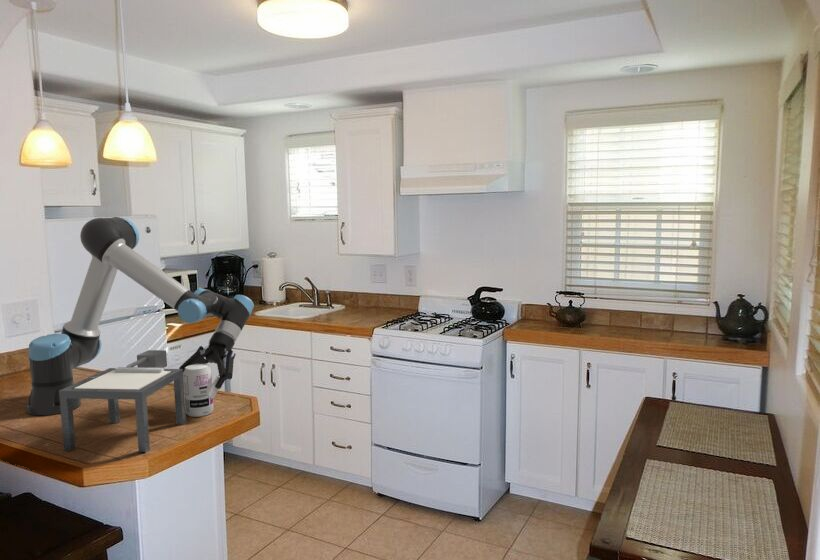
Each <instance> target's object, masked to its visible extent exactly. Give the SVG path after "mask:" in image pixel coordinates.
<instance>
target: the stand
mask: <svg viewBox="0 0 820 560" xmlns="http://www.w3.org/2000/svg"><path fill="white" fill-rule="evenodd" d="M116 368H117V367H111V368H110V367H108V368H107V369H105V370H101V371H100V372H98V373H95V374H93V375H91V376H89V377H87V378H85V379H82V380H80V381H77V382H76V383H74V384H73V385H71V386H69V387H66V388H64V389H62V390H60V391H59V397H60V409H61V413H60V420H61V430H62V431H61V432H62V445H63V451H64V452H65V451H66V452H71V451H73V450H75V449H76V436H75V435H76V433H75V423H74V422H75V421H74V409H73V408H72V398H77V399H82V400H84V399H85V400H86V399H87V400H91V399H92V400H107V404H108V405H107V407H108V418H109V419H108V420H109V424H118V423H119V422H120V407H119V406H120V405H119V400H134V404H135V416H136V417H135V421H136V431H137V448H138V449H137V450H138V453H139V452H145V453H144V454H146V452H147V451H148V452H149V451H150V449H151V445H150V433H149V432H150V431H149V418H148V417H149V416H148V404H147V403H148V402H147V401H148V400H147V398H148V397H150V396H151V395H153V394H155V393H156V392H158V391H159V390H161V389H163V388H164V387H166V386H168V385H170V384H171V383H173V391H174V405H175V406H174V407H175V409H174V410H175V421H176V423H175V424H177V425H176V426H184V425H185V424H186V423H187V418H186V415H187V414H186V408H185V391H184V381H183V369H179V368H164V371H171V372H170V373H168V374H166V375H165V376H163V377H161V378H159V379H157V380H155V381H154V382H152V383H150V384H148V385H146V386H145V387H143V388H141V389H139V390H119V389H74V388H75V387H78V386H80V385H82V384H84V383H86V382H89V381H91V380H93V379H95V378H97V377H99V376H102V375H104V374H106V373H108V372H110V371H112V370H115V369H116ZM148 452H147V453H148Z"/></svg>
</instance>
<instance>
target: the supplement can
mask: <svg viewBox="0 0 820 560" xmlns="http://www.w3.org/2000/svg"><path fill="white" fill-rule="evenodd" d="M183 374H184V398H185V415H187V416H189V417H192V418H199V417H200V418H202V417H206V416H208V415H210V414H212V412H213V411H214V399H211V398H210V397H208V396H207V393H208V391H209V389H210V388H211V386H212V384H213V377H212V374H213V373H212V369H211V367H210V365H209V364H208V363H207V364H194V365H189V366H187V367H186V368H185V371H184V373H183Z"/></svg>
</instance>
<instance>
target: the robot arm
mask: <svg viewBox="0 0 820 560" xmlns="http://www.w3.org/2000/svg"><path fill="white" fill-rule="evenodd" d="M79 238H80V242H81V245H82V247H83V248H84V249H85V250H86V251H87V252H88V253H89V254H90V255H91V260H90V262H89V266H88V269H87V272H86V275H85V278H84V280H83V284H82V287H81V289H80V293H79V296H78V299H77V301H76V304H75V307H74V310H73V313H72V316H71V319H70V321H67V322H65V323H64V324H63V327H62V330H61V333H51V334H46V335H41V336H38V337H37V338H34V339H32V340H31V341H30V342H29V345H28V354H27V356H28V358H29V359H28V360H29V370H30V379H31V382H30V383H31V390H30V394H29V397H28V402H27V405H26V410H27V414H29V415H32V416H50V415H51V416H52V415H57V414H61V409H60V397H59V391H60V390H62V389H64V388H66V387H69V386H71V385H73V384H75V383H74V377H73V375H74V374H73V369H76V368H78V367H80V366H82V365H85V364H86V365H87V364H89V363H90V362H92V360H94V359H96V358H97V357H98V355H99V354H100V352H101V350H102V340H101V330H100V329H99V325H100V322H101V319H102V316H103V313H104V310H105V307H106V304H107V301H108V298H109V296H110V293H111V291H112V287H113V284H114V282H115V278H116V275H117V273H118V271H119V272H121V273H122V274H124V275H126V276H127V277H128V278H130V279H131V280H132V281H134V282H135V283H137V284H138V285H139V286H141V287H143V288H144V289H145V290H146V291H148V292H150V293H151V294H152V295H154V296H155V297H156V298H158V299H159V300H161V301H162V302H164V303H165V304H167V305H168V306H169V307H170V308H172V309H174V310H175V311H176V312H177V315H178V317H179V318H180V320H182V322H184V323H186V324H192V323H193V324H194V323H197V322H198V323H199V322H201V321H202V320H204V319H205V318H208V317H210V316H211V317H214V318H216V319H219V320H220V322H219V324H218V325H217V327H216V328H215V330H214V332H213V334H212V335H211V336H210V337H211V338H210V339H209V340H208V342H209V343H208V346H207V348H205V347H204V346H202V345H201V346H199V347H198V348H197V350H196V351H195V352H194V353H193V354H192V355H191V356H190V357H189V358H188V359H186V360H185V361H184V362H183V363H182V364H181V365H180V366H179V367H178V369H183V373H184V371H185V368H186V367H187V366H189V365H194V364H207V365H208V364H212V363H213V364H216V365H217V371H218V375H216V377H215V378H214V379H213V380H214V381H212V386H211V388H210V389H209V391H208V393H207V396H208V397H210V398H211V399H213V400H214V399H215V397H216V395H217V393H218V391H219V390H221V388H222V386H223V385H224V384H225V381H227V380H231V379H233V373H234V360H235V357H236V355H237V354H236V353H235V351H233V347H234V345H235V344H236V343H235V342H236V341H237V339H238V338H239V336H240V334H241V332H242V331H243V329H244V327H245V325H246V323H247V321H248V320H249V318H250V317H251V314H252V311H253V309H254V307H255V304H254V302H253V300H252V299H251V298H249V297H248V296H246V295H243V294H235V296H234V297H232V298H230V297H227V296H224V295H222V294H219V293H216V292H214V291H211V290H210V289H205V288H202V287H199V288H197V289H196V290H195V291H194V292H192V291H191V290H190V289H189V288H188V287H186V286H185V285H183V284H181V282H179V281H177V279H175V278H174V277H172V276H171V275H169V274H167V272H165V271H163V270H162V269H161V268H159V267H158V266H156V265H155V264H154V263H152V262H151V261H150V260H148V259H147V258H145V257H144V256H142V255H141V254H139V253H138V252H136V250H134V249H135V248H136V247H137V246H138V243H139V241H140V232H139V230H138V228H137V226H136V225H135V224H134V223H133V222H132V221H131V220H129V219H128V218H123V217H120V216H112V217H96V218H92V219H90V220H89V221H87V222H86V223H85V224H84V225H83V226H82V228H81V231H80V237H79ZM183 381H184V374H183ZM81 405H82V400H81V399H77V398H72V408H73V410H75V409H78V408H79V407H81Z"/></svg>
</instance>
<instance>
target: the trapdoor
mask: <svg viewBox="0 0 820 560" xmlns="http://www.w3.org/2000/svg"><path fill="white" fill-rule="evenodd" d="M167 358H168V357H167V350H164V349H162V350H161V349H159V350H158V349H157V350H155V349H154V350H153V349H149V350H146V351H144V352H141V353H139V354H137V355H136V360H135V361H134V362H131V363H129V364H127V365H126V366H123V367H122V366H118V367H115V368H116V369H115V370H112V371H110V372H108V373H106V374H104V375H102V376H99V377H97V378H95V379H93V380H91V381H89V382H86V383H84V384H82V385H80V386H78V387H75V388H74V389H119V390H139V389H141V388H143V387H145V386H146V385H148V384H150V383H152V382H154V381H155V380H157V379H159V378H161V377H163V376H165V375H166V374H168V373H170V372H171V371H164V369H165V368H166V367H167V366H168V359H167ZM136 366H137V367H136Z"/></svg>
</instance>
